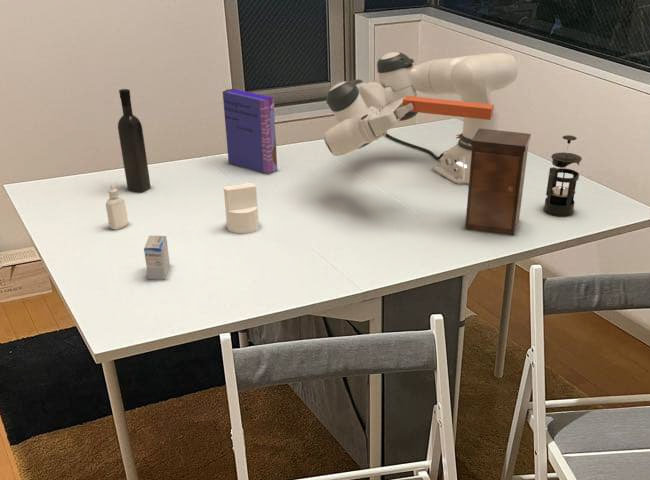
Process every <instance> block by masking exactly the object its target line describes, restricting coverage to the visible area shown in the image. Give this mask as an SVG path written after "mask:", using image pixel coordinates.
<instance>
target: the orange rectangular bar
mask: <svg viewBox="0 0 650 480" xmlns="http://www.w3.org/2000/svg"><path fill="white" fill-rule="evenodd" d="M409 103H413V105H414V109H413V110H411V111H410V112H418V114H419V113H421V114H430V115H440V116H449V117H457V118H458V117H459V118H464V117H467V118H476V119H486V120H491V118H492V116H493V109H494V107H495V104H492V103H491V104H482V103H473V102H463V101H462V100H452V99H443V98H432V97H422V96H417V97H414V96H406V97H405V98H404V99H403V101H402V107H403V106H405V105H407V104H409Z"/></svg>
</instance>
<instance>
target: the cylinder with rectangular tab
mask: <svg viewBox="0 0 650 480" xmlns="http://www.w3.org/2000/svg"><path fill="white" fill-rule="evenodd" d="M257 195H258V194H257V184H255V183H254V182H249V183H242V184H235V185H227V186H223V196H224V198H223V199H224V207H225V219H226V229H227V230H228V231H229V232H232V233H236V234H250V233H253V232H256V231H257V230H258V229H259V227H260V225H259V224H260V223H259V209H258V196H257Z"/></svg>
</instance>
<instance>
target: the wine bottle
mask: <svg viewBox="0 0 650 480" xmlns="http://www.w3.org/2000/svg"><path fill="white" fill-rule="evenodd" d="M118 94H119V98H120V103H121V109H122V116H121V117H120V118H119V119H118V122H117V132H118V137H119V144H120V151H121V156H122V163H123V169H124V175H125V181H126V187H127V190H128V191H131V192H136V193H144V192H145V191H146V190H149V189H150V188H151V187H152V186H151V178H150V172H149V164H148V158H147V152H146V144H145V137H144V130H143V125H142V122H141V121H140V119H139V118H138V117H137V116H136V115H134V113H133V108H132V100H131V97H132V96H131V90H130V89H129V88H128V89H127V88H122V89H119V90H118Z"/></svg>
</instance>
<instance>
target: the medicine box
mask: <svg viewBox="0 0 650 480" xmlns="http://www.w3.org/2000/svg"><path fill="white" fill-rule="evenodd" d="M168 247H169V245H168V239H167V236H166V235H149V236H148V238H147V240H146V242H145V245H144V248H143V252H144V260H145V266H146V274H147V278H148V280H158V281H159V280H160V281H161V280H166V278H167V275H168V272H169V269H170V267H171V266H170V265H171V264H170V256H169V248H168Z"/></svg>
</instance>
